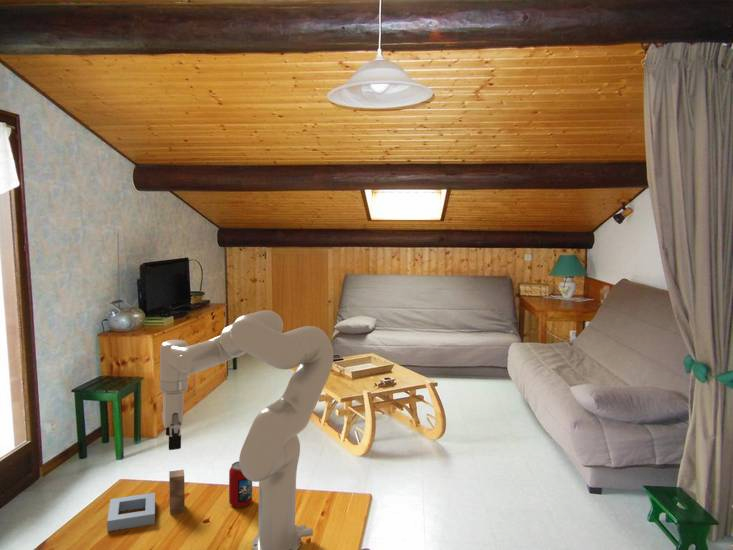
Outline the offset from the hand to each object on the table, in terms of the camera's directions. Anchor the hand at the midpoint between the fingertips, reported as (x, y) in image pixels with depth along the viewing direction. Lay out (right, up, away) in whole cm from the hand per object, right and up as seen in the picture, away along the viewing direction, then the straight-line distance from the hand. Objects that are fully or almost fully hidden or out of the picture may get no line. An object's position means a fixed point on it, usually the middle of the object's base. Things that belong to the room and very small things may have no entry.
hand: (173, 441), depth 156 cm
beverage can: (+18, -21, +8) cm, 28 cm away
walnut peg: (0, -21, +3) cm, 21 cm away
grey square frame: (-11, -21, -1) cm, 24 cm away
